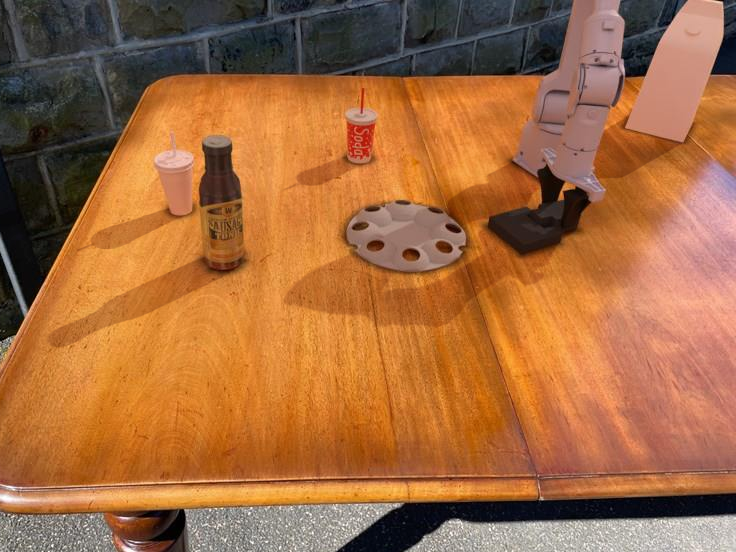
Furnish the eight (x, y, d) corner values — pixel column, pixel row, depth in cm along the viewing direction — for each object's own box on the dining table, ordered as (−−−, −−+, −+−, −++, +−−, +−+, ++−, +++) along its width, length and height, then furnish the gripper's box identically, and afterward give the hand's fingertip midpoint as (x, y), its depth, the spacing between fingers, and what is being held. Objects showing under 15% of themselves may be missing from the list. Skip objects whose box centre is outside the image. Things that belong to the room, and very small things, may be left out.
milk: (692, 123, 142) (743, -1, 125) (682, 142, 134) (736, 12, 117) (636, 110, 146) (678, -12, 130) (624, 128, 139) (668, 1, 122)
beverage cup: (338, 161, 123) (341, 91, 114) (350, 148, 128) (353, 79, 119) (368, 167, 122) (373, 97, 113) (378, 154, 126) (384, 85, 117)
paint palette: (400, 192, 115) (401, 182, 114) (489, 237, 105) (491, 227, 103) (321, 233, 104) (322, 223, 103) (412, 288, 94) (414, 277, 93)
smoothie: (207, 205, 110) (198, 129, 101) (185, 223, 105) (174, 146, 96) (176, 196, 112) (165, 121, 103) (154, 214, 107) (140, 137, 98)
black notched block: (523, 221, 109) (527, 206, 107) (559, 214, 111) (563, 199, 109) (540, 236, 105) (544, 221, 103) (576, 229, 107) (581, 214, 105)
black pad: (487, 226, 107) (489, 216, 106) (524, 215, 110) (526, 205, 109) (521, 255, 101) (524, 244, 100) (559, 242, 104) (563, 232, 103)
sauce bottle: (212, 277, 95) (197, 155, 82) (199, 254, 99) (182, 136, 86) (253, 265, 97) (244, 146, 84) (238, 244, 101) (228, 127, 88)
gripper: (631, 160, 94) (604, 236, 103) (572, 120, 105) (551, 192, 114) (592, 167, 92) (568, 244, 101) (535, 126, 103) (518, 199, 112)
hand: (557, 217), depth 107 cm, fingers closed on black notched block, 5 cm apart
